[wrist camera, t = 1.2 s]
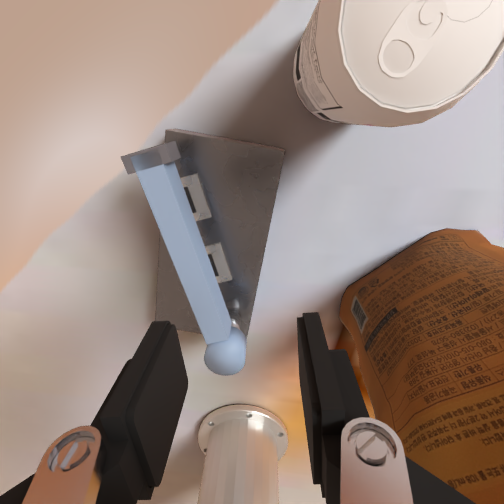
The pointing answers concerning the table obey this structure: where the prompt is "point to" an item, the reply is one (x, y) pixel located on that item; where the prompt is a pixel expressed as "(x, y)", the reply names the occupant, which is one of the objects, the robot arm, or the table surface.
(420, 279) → the pancake mix bag
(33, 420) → the table surface
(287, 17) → the table surface
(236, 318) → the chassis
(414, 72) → the supplement can
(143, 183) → the bar
